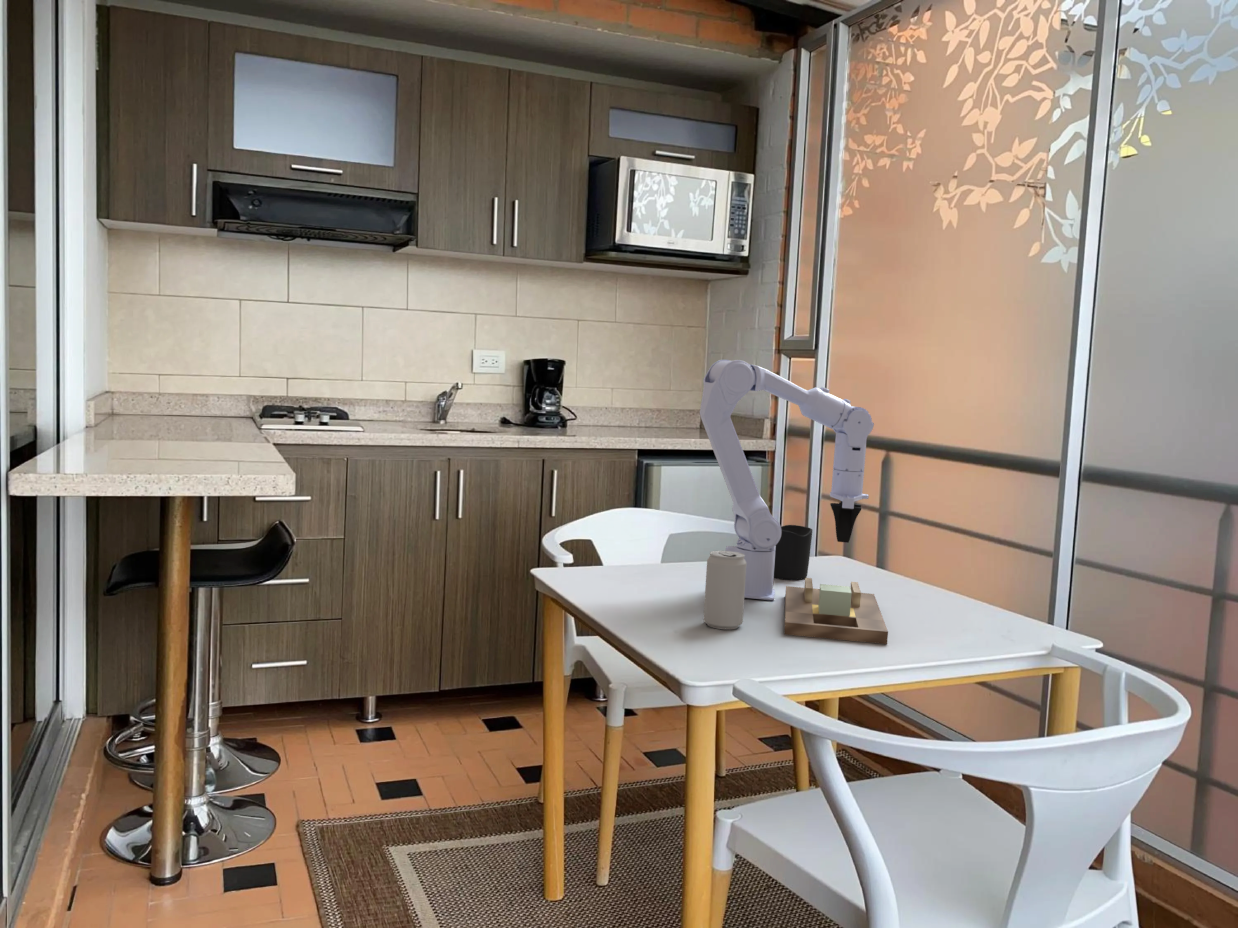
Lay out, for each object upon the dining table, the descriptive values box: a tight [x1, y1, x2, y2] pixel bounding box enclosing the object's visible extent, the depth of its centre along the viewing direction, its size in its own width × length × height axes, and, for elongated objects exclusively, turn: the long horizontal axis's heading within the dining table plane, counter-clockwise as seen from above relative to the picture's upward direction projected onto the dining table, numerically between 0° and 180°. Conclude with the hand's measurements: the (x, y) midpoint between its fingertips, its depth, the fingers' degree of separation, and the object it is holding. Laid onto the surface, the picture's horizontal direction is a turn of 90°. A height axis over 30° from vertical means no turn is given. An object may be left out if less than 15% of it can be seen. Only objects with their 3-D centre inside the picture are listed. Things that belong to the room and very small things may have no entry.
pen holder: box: [773, 524, 813, 581], centre depth 212 cm, size 9×9×10 cm
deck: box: [783, 577, 889, 645], centre depth 178 cm, size 16×28×4 cm, turn 171°
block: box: [818, 583, 852, 617], centre depth 174 cm, size 5×5×4 cm
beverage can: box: [703, 550, 746, 631], centre depth 169 cm, size 6×6×12 cm
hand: (842, 541), depth 195 cm, fingers closed
